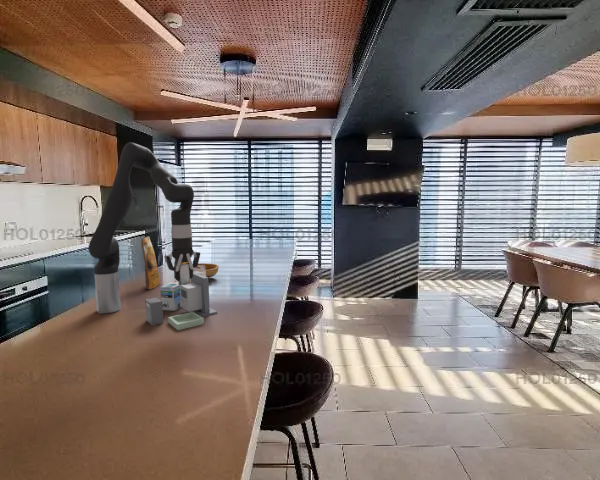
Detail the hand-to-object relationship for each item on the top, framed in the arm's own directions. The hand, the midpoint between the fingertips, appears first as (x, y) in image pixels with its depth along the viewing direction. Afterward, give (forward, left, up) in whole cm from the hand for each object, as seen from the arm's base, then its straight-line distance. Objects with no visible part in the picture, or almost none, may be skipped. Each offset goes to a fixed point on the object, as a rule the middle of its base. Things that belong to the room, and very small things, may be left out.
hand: (184, 279), depth 139 cm
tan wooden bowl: (+34, +66, -18) cm, 76 cm away
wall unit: (+9, +11, -18) cm, 23 cm away
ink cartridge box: (+21, +38, -18) cm, 47 cm away
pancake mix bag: (+8, +70, -18) cm, 73 cm away
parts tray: (0, 0, -18) cm, 18 cm away
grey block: (-9, +10, -18) cm, 22 cm away
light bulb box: (+4, +24, -18) cm, 30 cm away
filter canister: (0, 0, -2) cm, 2 cm away
